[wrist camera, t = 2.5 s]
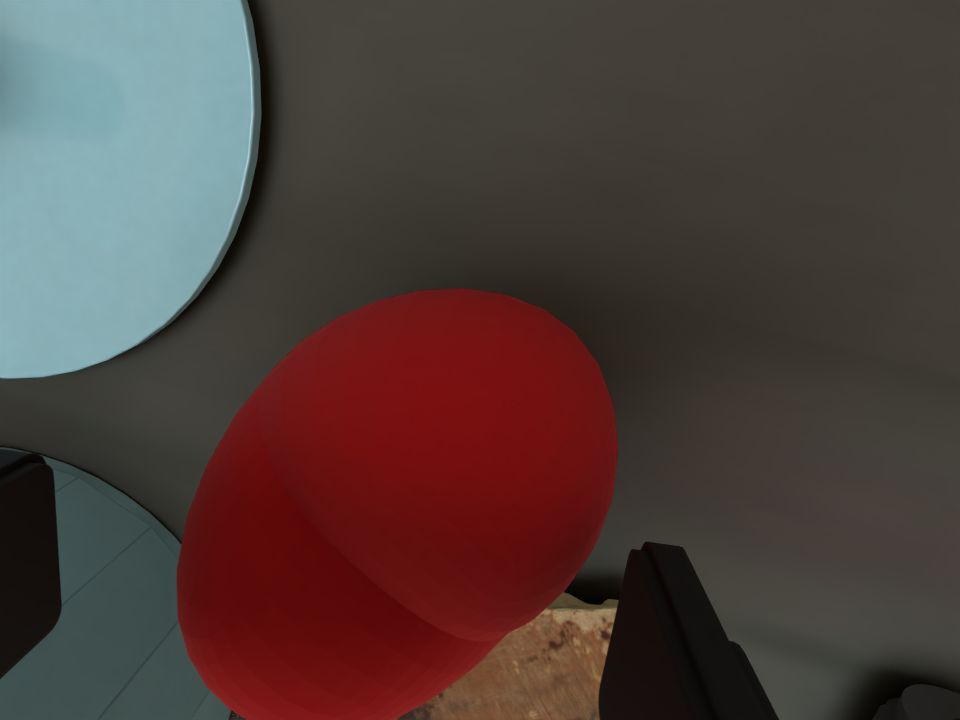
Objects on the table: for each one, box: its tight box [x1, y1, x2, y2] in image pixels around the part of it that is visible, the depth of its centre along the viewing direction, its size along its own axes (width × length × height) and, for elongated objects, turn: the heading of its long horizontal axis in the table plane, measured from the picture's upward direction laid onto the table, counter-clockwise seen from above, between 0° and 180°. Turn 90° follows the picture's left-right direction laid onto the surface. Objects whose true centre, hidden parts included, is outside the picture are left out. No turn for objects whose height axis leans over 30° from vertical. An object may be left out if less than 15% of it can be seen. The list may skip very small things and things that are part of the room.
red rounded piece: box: [177, 288, 618, 720], centre depth 13 cm, size 9×7×10 cm
